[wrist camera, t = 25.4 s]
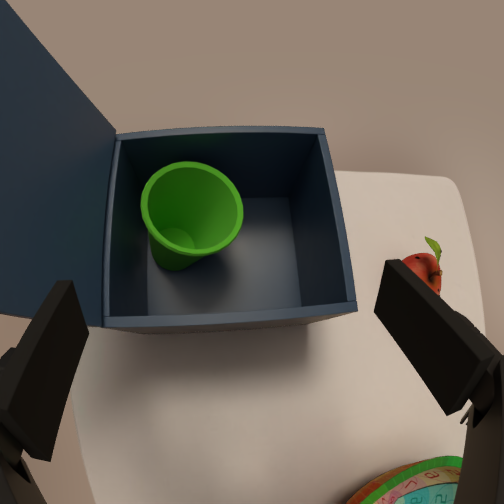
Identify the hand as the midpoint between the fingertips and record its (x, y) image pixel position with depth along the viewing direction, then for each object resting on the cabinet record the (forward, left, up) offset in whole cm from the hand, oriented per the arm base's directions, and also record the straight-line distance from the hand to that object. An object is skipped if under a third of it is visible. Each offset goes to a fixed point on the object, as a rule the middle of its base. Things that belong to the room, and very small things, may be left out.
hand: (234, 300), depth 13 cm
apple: (+20, +12, -24) cm, 34 cm away
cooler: (-3, +7, -24) cm, 25 cm away
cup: (-9, +6, -23) cm, 25 cm away
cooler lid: (-14, +3, 0) cm, 14 cm away
